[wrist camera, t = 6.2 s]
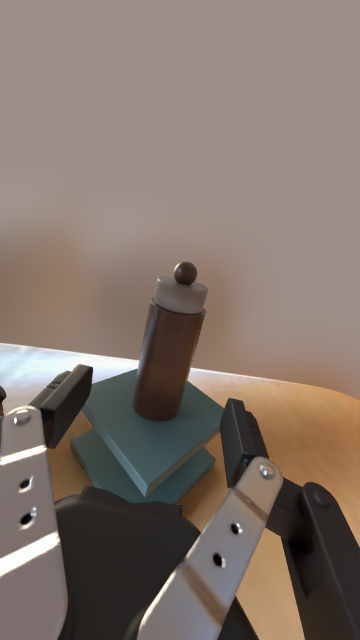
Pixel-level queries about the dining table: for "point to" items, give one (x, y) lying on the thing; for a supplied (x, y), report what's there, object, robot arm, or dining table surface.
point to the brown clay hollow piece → (0, 396)
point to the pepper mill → (169, 343)
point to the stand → (145, 443)
